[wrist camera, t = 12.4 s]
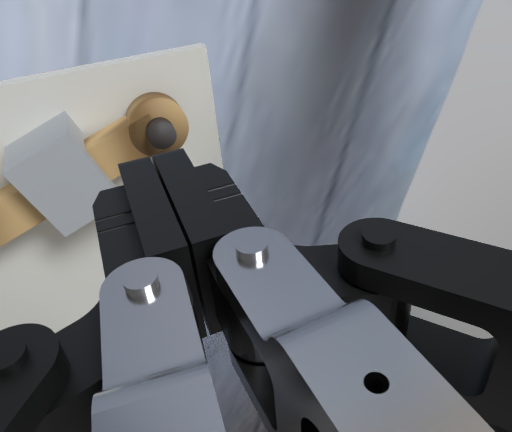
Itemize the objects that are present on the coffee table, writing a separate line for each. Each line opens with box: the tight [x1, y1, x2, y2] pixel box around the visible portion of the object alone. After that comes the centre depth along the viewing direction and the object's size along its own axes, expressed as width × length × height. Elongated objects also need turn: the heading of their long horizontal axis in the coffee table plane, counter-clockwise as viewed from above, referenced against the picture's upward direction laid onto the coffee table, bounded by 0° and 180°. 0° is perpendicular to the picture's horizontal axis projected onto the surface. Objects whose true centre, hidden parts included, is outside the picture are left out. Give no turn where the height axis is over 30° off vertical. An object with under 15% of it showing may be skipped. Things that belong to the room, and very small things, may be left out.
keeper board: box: [0, 43, 223, 333], centre depth 38 cm, size 25×24×6 cm
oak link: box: [0, 92, 189, 247], centre depth 35 cm, size 18×4×3 cm, turn 116°
